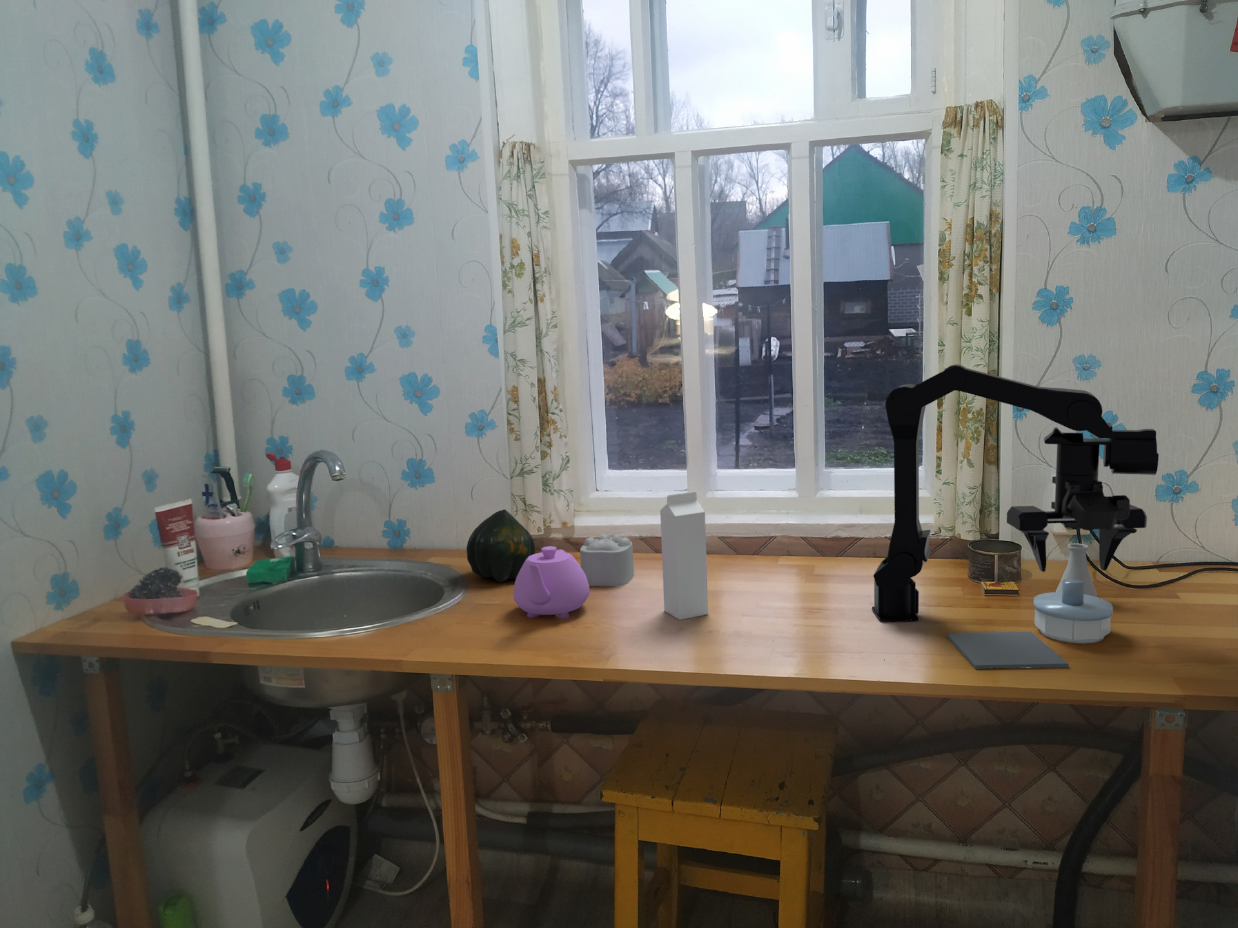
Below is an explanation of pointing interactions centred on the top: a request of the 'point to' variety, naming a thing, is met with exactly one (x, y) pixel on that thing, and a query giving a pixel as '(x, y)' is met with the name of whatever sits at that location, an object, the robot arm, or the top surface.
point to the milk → (684, 556)
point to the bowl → (1072, 629)
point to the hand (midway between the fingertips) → (1072, 570)
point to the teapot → (550, 584)
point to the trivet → (1005, 650)
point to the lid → (1073, 603)
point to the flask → (1078, 569)
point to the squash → (499, 547)
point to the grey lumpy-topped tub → (607, 560)
